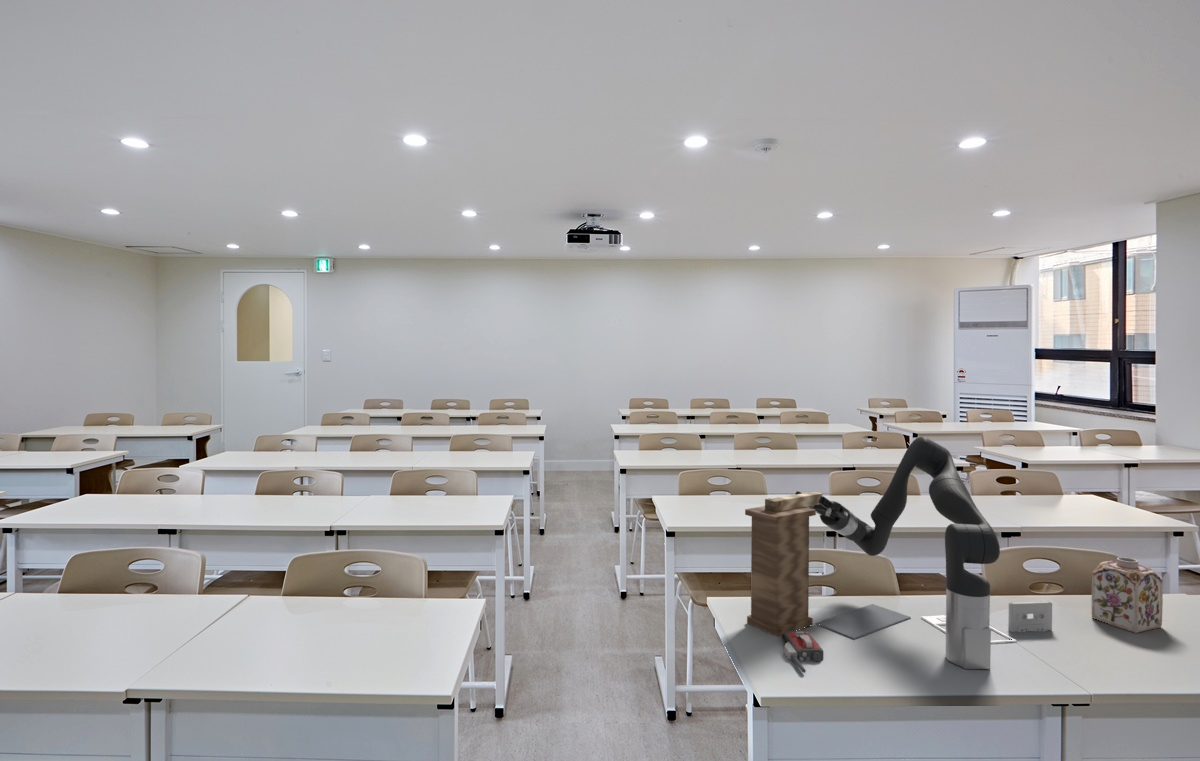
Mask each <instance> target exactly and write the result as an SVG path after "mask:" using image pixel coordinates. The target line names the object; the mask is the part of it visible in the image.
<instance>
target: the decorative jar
mask: <svg viewBox="0 0 1200 761" xmlns="http://www.w3.org/2000/svg"><path fill="white" fill-rule="evenodd" d="M1091 576H1092V577H1091V619H1092V618H1094V619H1093V620H1095V619H1097V620H1096V621H1098V620H1099V622H1101V621H1102V623H1104V622H1105V623H1104V624H1107V623H1108V624H1107V625H1110V626H1114V627H1116V628H1119V629H1121V630H1125V631H1127V632H1131V633H1134V634H1138V633H1142V632H1143V633H1144V632H1147V631H1151V630H1155V629H1160V628H1161V627H1162V625H1163V603H1164V601H1163V600H1164V598H1163V579H1162V578H1161V576H1159V574H1158V573H1157V572H1155V571H1154V570H1153V569H1152V568H1150V567H1148V566H1144V565H1140V564H1139V560H1137V559H1136V558H1133V557H1132V558H1131V557H1125V556H1124V557H1123V556H1122V557H1117V558H1116V560H1107V561H1106V560H1105V561H1101V562H1099V564H1098V566H1097V567H1095V569H1094V570H1093V571H1092V575H1091Z"/></svg>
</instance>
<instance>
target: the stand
mask: <svg viewBox="0 0 1200 761" xmlns="http://www.w3.org/2000/svg"><path fill="white" fill-rule="evenodd" d="M744 510H745V511H744V515H745V516H749V517H751V542H750V543H751V544H750V545H751V551H750V552H751V557H750V558H751V559H750V560H751V562H750V563H751V570H750V573H751V574H750V576H751V577H750V578H751V581H750V583H751V584H750V587H751V589H750V590H751V591H750V594H751V595H750V596H751V597H750V615H747V616H746V623H747V624H748V625H750V626H751V627H754V628H757V629H759V630H761V631H763V632H766V633H768V634H770V635H772V636H775V637H776V638H778V637H779V638H780V637H782V635H783V634H784V633H785V632H786V631H796V630H797V631H800V630H802V629H801V628H803V629H805V628H804V627H806V628H808V627H807V626H809V627H811V626H810V625H812V626H813V624H814V623H813V617H811V616H809V605H810V604H809V601H810V600H809V593H810V590H809V588H810V587H809V585H810V583H809V582H810V581H809V579H810V578H809V577H810V576H809V575H810V574H809V573H810V572H809V571H810V564H809V563H810V517H812V516H813V517H814V516H816V515H817V513H816V510H815V509H810V508H806V507H802V508H796V509H791V510H785V511H781V512H778V513H775V512H771V511H767V510H765V505H763V506H758V507H751V508H747V509H744ZM799 629H800V630H799Z"/></svg>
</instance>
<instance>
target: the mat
mask: <svg viewBox="0 0 1200 761" xmlns="http://www.w3.org/2000/svg"><path fill="white" fill-rule="evenodd" d="M910 619H911V616H909V615H906V614H903V613H900V612H897V611H895V610H892V609H888V608H886V607H883V606H881V605H877V604H874V603H871V604H869V605H865V606H861V607H860V608H856V609H853V610H850V611H848V612H847V611H846V612H845V613H841V614H838V615H835V616H833V617H829V618H827V619H823V620H821V621H818V622H816V623H817V624H820V625H821V626H820V627H822V626H823V627H822V628H824V627H825V628H824V629H827V628H828V629H827V630H829V629H830V630H829V631H832V630H833V631H832V632H834V631H835V633H836V634H839V633H840V634H839V635H841V634H842V636H844V637H847V638H850V639H852V640H857V639H859V638H862V637H864V636H867V635H870V634H873V633H875V632H878V631H881V630H883V629H886V628H888V627H891V626H893V625H894V626H895V625H897V624H900V623H902V622H905V621H908V620H910ZM817 624H816V625H817Z"/></svg>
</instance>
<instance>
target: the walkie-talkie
mask: <svg viewBox="0 0 1200 761" xmlns="http://www.w3.org/2000/svg"><path fill="white" fill-rule="evenodd" d="M781 640H783V642H784V644H785V645H783V649H784V650H783V652H784V655H785V656H786V657H787V660H788V661H793V662H794V663H795V665H796V667H797V668H799V670H800V672H802V673H804V674H805V673H806V668H805V667H804V666H803V665H802V662H804V661H808V662H809V661H811V660H812V661H815V662H819V661H824V649H823V647H821V645H820V644H819V643H817V641H816V640H815V639H814V638H813V636H812V635H811V634H810V633H809V632H807V631H805V630H797V631H786V632H785V633H784V634H783V635H782V636H781Z"/></svg>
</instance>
